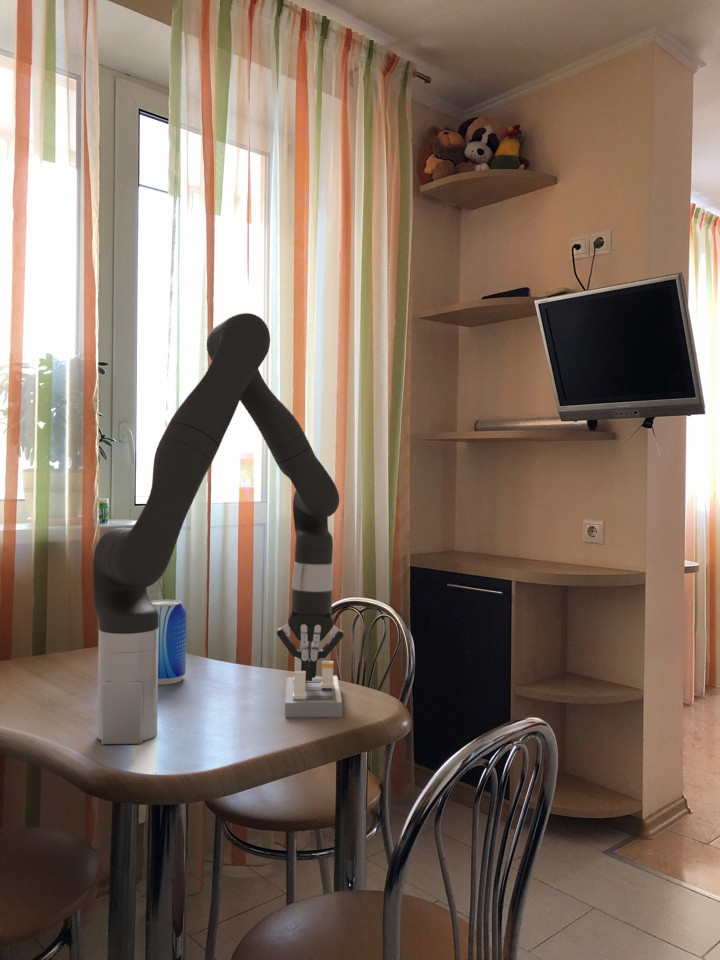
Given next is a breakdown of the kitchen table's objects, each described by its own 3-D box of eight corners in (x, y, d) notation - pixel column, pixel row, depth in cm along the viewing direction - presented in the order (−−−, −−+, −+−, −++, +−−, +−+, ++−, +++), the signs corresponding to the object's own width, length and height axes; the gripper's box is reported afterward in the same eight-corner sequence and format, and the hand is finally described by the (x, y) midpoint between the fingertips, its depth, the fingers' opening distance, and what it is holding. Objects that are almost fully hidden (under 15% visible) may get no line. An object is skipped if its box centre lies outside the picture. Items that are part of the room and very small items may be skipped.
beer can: (179, 686, 160) (180, 605, 160) (137, 685, 161) (138, 604, 160) (189, 675, 169) (190, 599, 169) (149, 674, 169) (150, 598, 169)
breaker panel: (342, 716, 141) (342, 675, 141) (284, 717, 141) (285, 676, 141) (337, 689, 159) (338, 653, 159) (286, 690, 159) (287, 653, 158)
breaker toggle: (334, 687, 149) (334, 663, 149) (321, 687, 149) (321, 663, 149) (333, 685, 151) (334, 660, 151) (320, 685, 151) (321, 660, 151)
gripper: (276, 588, 146) (271, 684, 146) (349, 591, 147) (344, 686, 147) (277, 583, 153) (273, 674, 153) (346, 585, 154) (342, 675, 154)
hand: (308, 679), depth 150 cm, fingers closed
